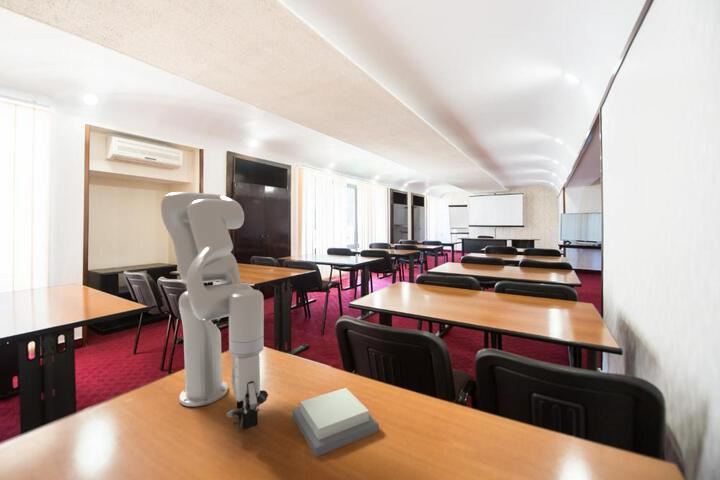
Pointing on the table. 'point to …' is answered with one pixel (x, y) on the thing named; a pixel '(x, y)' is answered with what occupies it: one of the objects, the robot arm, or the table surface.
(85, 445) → the table surface
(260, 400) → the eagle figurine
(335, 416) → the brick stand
